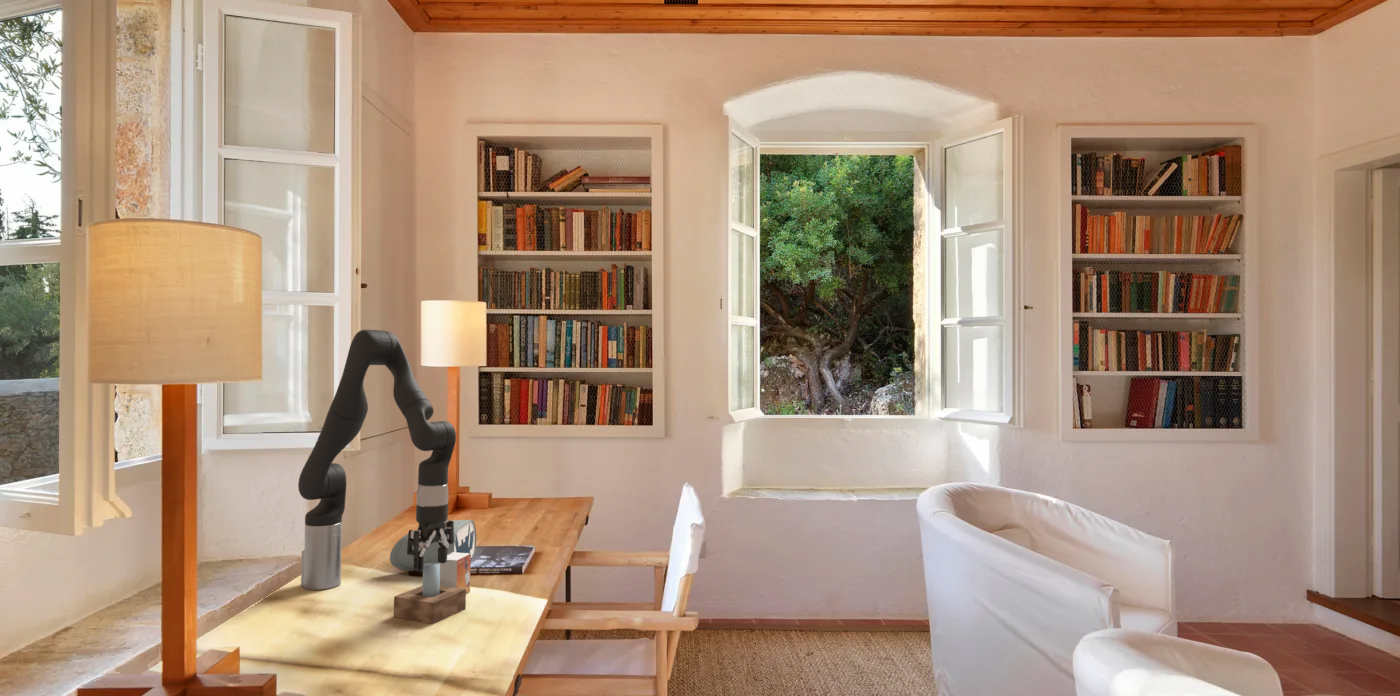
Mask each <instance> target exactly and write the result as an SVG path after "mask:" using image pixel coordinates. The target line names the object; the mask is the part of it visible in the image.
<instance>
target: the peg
mask: <svg viewBox="0 0 1400 696" xmlns="http://www.w3.org/2000/svg"><path fill="white" fill-rule="evenodd" d="M422 586H423V591H422V596H426V597H434V596H437V595H439V587H440V564H439V563H426V564H424V565H423V571H422Z"/></svg>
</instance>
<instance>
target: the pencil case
mask: <svg viewBox="0 0 1400 696" xmlns="http://www.w3.org/2000/svg"><path fill="white" fill-rule="evenodd" d="M450 521H453V522H454V542H453V544H450V545H449V547H448V548H447V555H449V554H451V553H452V552H457V553H470V554H471V558H472V559H473V557H474V555H475V552H476V547H477V529H476V523H475V522H474V520H472V519H462V520H461V519H460V520H458V519H456V520H453V519H452V520H450ZM448 538H449V535H448ZM421 543H423V542H422V541H421ZM407 545H408V533H407V534H405V535H404V536H402V537H400V539H399V540H398V541H397V542H396V543H395V544H394V546H393V547H392V548H391V551H390V554H389V560H390V563H391V565H392V566H393V567H394V568H397V570H401V571H405V572H414V571H413V570H414V568H413V567H414V556H413V555H408V554H407ZM438 548H439V546H438V544H437V543H436V542H434V543H432V544H430V545H429V547H428V548H427V549H426V550H425V552H424V554H423V556H424V561H423V565H424V564H426V563H438ZM412 550H414V546H413V545H412ZM420 550H421V548H419V551H420Z"/></svg>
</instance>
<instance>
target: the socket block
mask: <svg viewBox="0 0 1400 696" xmlns="http://www.w3.org/2000/svg"><path fill="white" fill-rule="evenodd" d="M422 591H423V585H420V586H418V587H415V588H413V589H410V590H407V591H404V592H402V593H400V594H397V595H394V596H393V618H398V619H405V620H409V621H415V622H419V623H420V622H421V623H427V624H432V625H434V624H436V623H438V622H441V621H443V620H445V619H448V618H450V617H452V616H454V615H456V614H458V613H460V612H462V611H465V610H466V607H467V606H466V603H467V602H466V601H467V600H466V599H467V594H466V589H460V588H454V587H447V586H441V585H440V587H439V595H437V596H434V597H426V596H422ZM449 616H450V617H449Z"/></svg>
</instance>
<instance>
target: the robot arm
mask: <svg viewBox="0 0 1400 696" xmlns="http://www.w3.org/2000/svg"><path fill="white" fill-rule="evenodd" d="M370 366H385V367H386V368H387V369H388V370H389V371H390V373H391V374H392V376H393V388H392V389H393V398H394V401H395V404H396V406H397V407H398V409H399V410H400V412H401V413H402V415H403V417H404V419H405V420H406V424H407V427H408V431H409V436H410V439H411V442H412V444H413V445H414V447H416V448H417V449H418V450H420V451H423V452H430V451H432V452H431V455H430V456H429V457H428V458H426V459H424V460H422V461H420V463H419V464H418V472H417V473H418V476H417V490H416V503H415V505H416V510H415V521H416V522H417V523H418V528H417V529H409V530H408V532H407V534H408V545H407V554H408V555H413V556H414V567H413V568H414V570H415V571H414V572H418V573H421V572H423V561H424V556H423V554H424V552H425V550H426V549H427V548H428V547H429V545H430V544H432V543H434V542H436V543H437V544H438V546H439V548H438V562H439V563H446V561H447V548H448V547H449V545H450V544H453V542H454V522H453V521H451V520H449V486H448V484H449V482H448V481H449V466H450V462H451V459H452V456H453V452H454V449H455V445H456V442H457V433H456V429H455V427H454V425H453V424H452V423H451V422H450V421H447V420H441V421H440V420H438V421H429V420H430V419H431V418H432V417H433V415H434V411H435V409H434V407H433V405H432V404H431V402H430V400H429V399H428V397H427V396H426V394H425V393H424V391H423V390H422V388H421V385H419V383H418V381H417V380H416V377H415V375H414V372H413V370H412V366H411V364H410V363H409V360H408V358H407V356H406V353H405V350H404V348H403V346H402V344H401V341H400V339H399V338H398V337H397V336H396V334H395V333H394V332H392V331H390V330H388V331H387V330H381V329H380V330H379V329H361V330H359V331H357V332H356V334H355V335H354V337H353V338H352V340H351V343H350V346H349V349H348V353H347V357H346V360H345V365H344V367H343V371H342V375H341V377H340V381H339V384H338V386H337V389H336V392H335V395H334V397H333V400H332V402H331V404H330V406H329V409H328V411H327V414H326V417H325V420H324V422H323V425H322V428H321V431H320V433H319V435H318V438H317V440H316V442H315V445H314V446H313V449H312V451H311V452H310V455H309V456H308V458H307V461H306V462H305V464H304V466H303V468H302V469H301V472H300V473H299V474H300V475H299V478H298V483H297V485H298V492H299V494H300V496H301V497H302V499H304V500H306V501H307V500H309V501H315V500H319V503H318V504H317V505H316V506H315V507H313V508H312V509H310V510H309V511H308V512H306V514H305V516H304V550H301V560H300V561H301V564H300V565H301V566H300V567H301V568H300V569H301V571H300V574H301V575H300V576H301V577H300V578H301V579H300V586H302V587H303V588H304V589H306V590H312V591H313V590H316V591H317V590H318V591H319V590H327V589H332V588H335V587H337V586H340V585H341V582H342V581H341V578H342V576H341V575H342V538H343V537H342V534H343V533H342V532H343V530H342V529H343V528H342V527H343V514H344V513H345V509H346V496H347V495H346V494H347V474H346V471H345V468H344V467H343V466H342V465H341V464H339V463H335V462H334V460H335V459H336V457H337V456H338V455H339V454H340V453H341V452H342V451H343V450H344V449H346V447H347V446H348V445H349V444H350V443H351V442H352V441H353V440H354V439H355V438H356V437H357V436H358V435H359V433H360V431H361V430H362V427H363V424H364V422H365V419H366V417H367V415H368V411H369V405H368V399H367V396H366V392H365V389H364V380H365V377H366V374H367V372H368V368H370ZM448 535H449V538H448ZM421 541H422V542H423V543H421ZM412 545H413V546H414V550H412ZM419 548H421V550H420V551H419Z"/></svg>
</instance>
